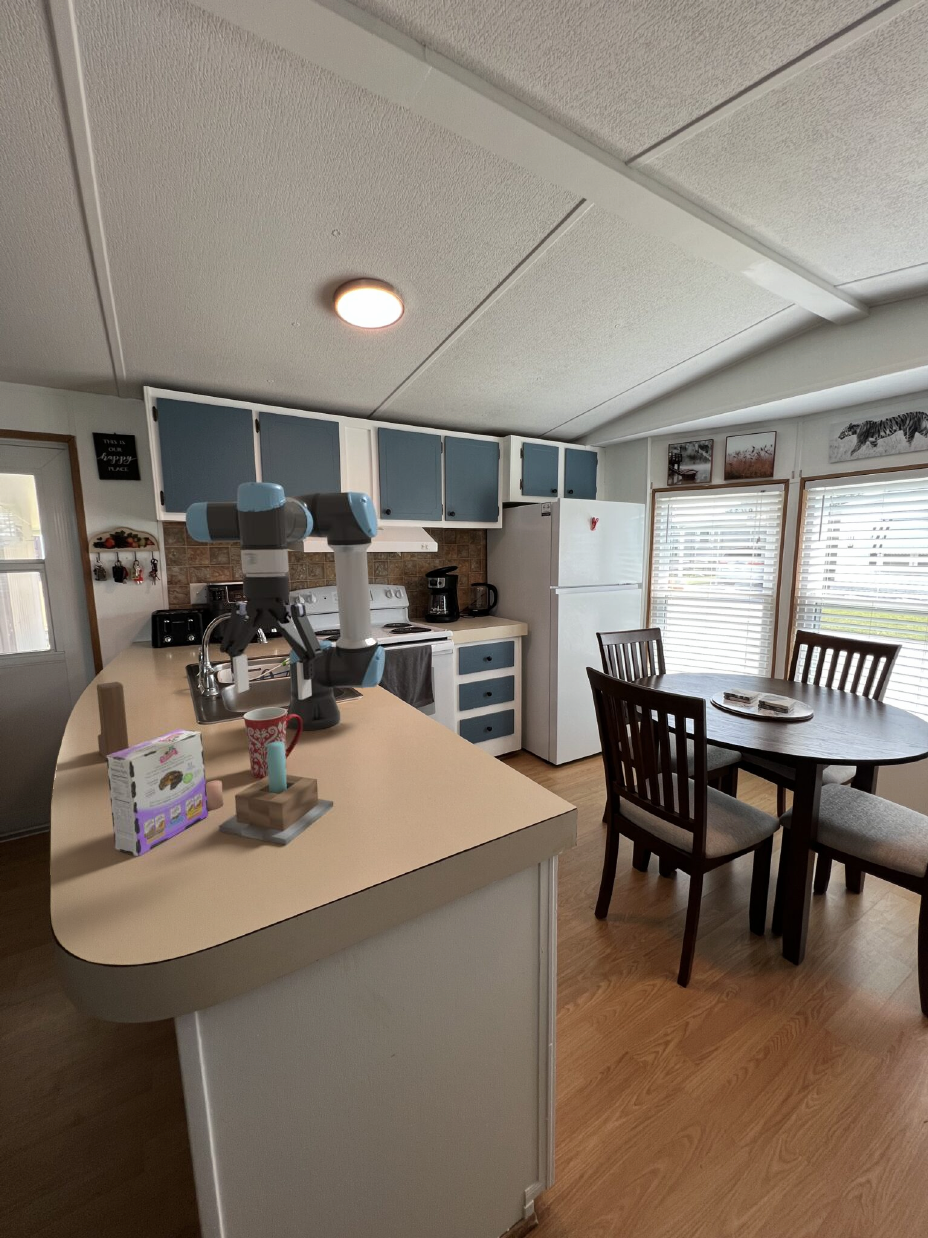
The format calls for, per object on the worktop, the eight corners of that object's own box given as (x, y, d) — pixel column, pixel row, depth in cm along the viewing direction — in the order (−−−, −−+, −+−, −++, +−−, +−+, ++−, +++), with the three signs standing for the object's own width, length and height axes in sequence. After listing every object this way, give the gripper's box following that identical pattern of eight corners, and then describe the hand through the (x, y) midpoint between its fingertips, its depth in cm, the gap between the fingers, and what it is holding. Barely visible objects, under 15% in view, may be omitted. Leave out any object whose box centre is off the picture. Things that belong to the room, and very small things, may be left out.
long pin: (278, 813, 96) (274, 740, 94) (291, 815, 95) (288, 742, 93) (267, 820, 93) (263, 746, 91) (280, 823, 92) (276, 748, 90)
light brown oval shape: (214, 801, 101) (213, 779, 100) (226, 803, 100) (225, 781, 99) (202, 808, 98) (200, 786, 97) (214, 811, 97) (213, 788, 96)
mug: (254, 784, 108) (250, 722, 106) (241, 770, 115) (237, 712, 113) (311, 768, 116) (309, 710, 114) (296, 756, 123) (293, 701, 121)
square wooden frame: (273, 795, 103) (271, 767, 102) (333, 806, 98) (332, 776, 97) (219, 831, 90) (217, 798, 89) (286, 845, 85) (284, 811, 84)
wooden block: (98, 752, 127) (92, 681, 124) (120, 747, 130) (113, 678, 128) (107, 762, 120) (100, 687, 118) (129, 756, 124) (123, 684, 121)
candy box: (186, 811, 97) (179, 727, 95) (209, 817, 95) (203, 731, 93) (113, 850, 84) (104, 754, 82) (138, 857, 82) (129, 759, 80)
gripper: (192, 575, 89) (201, 694, 92) (314, 576, 81) (320, 706, 84) (225, 573, 96) (232, 683, 99) (340, 574, 88) (345, 694, 91)
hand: (273, 694), depth 91 cm, fingers open, 13 cm apart
